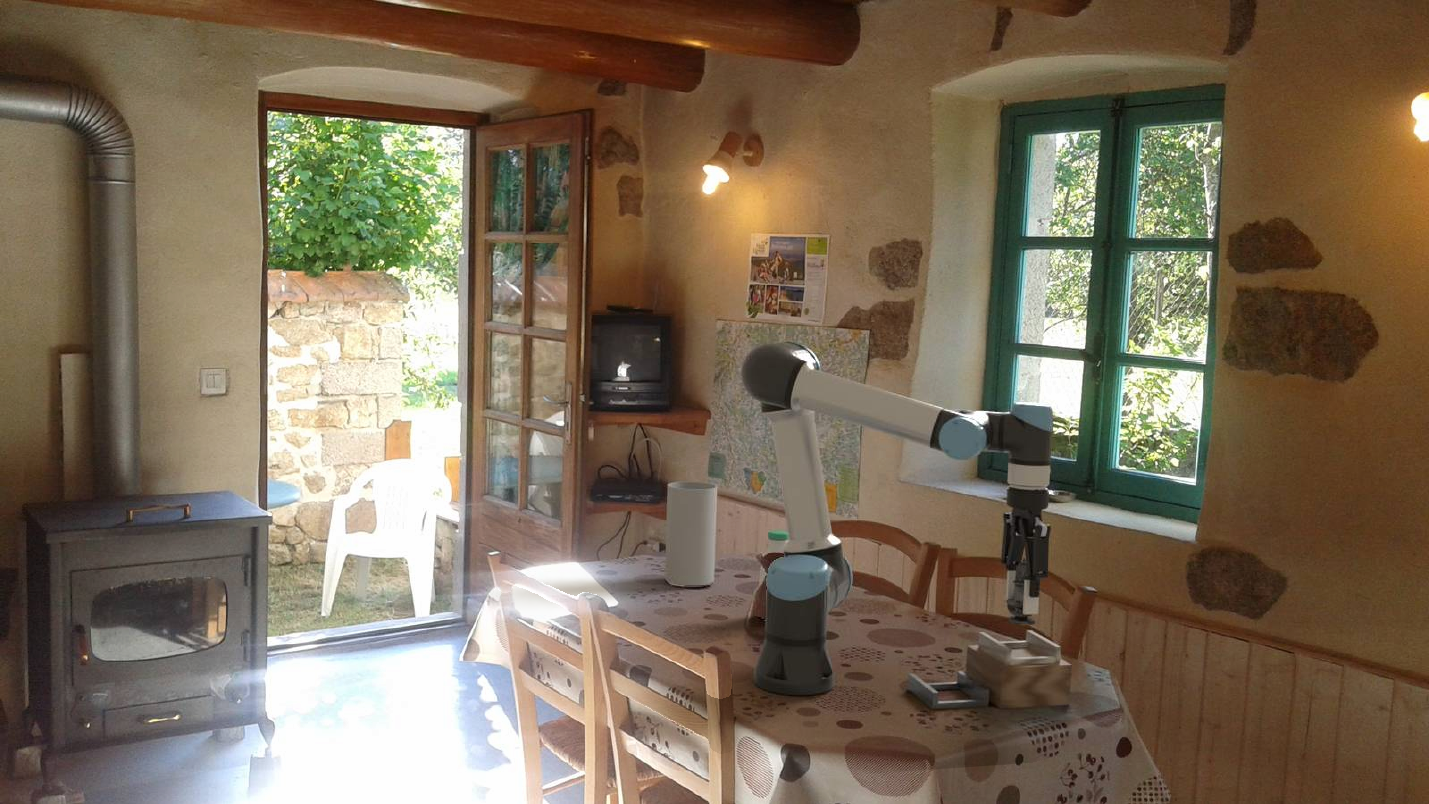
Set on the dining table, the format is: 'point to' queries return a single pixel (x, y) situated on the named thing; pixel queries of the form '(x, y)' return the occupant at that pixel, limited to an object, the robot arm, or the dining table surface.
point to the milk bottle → (774, 547)
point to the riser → (1020, 671)
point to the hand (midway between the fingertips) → (1021, 608)
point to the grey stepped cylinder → (1019, 598)
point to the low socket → (963, 683)
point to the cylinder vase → (690, 533)
